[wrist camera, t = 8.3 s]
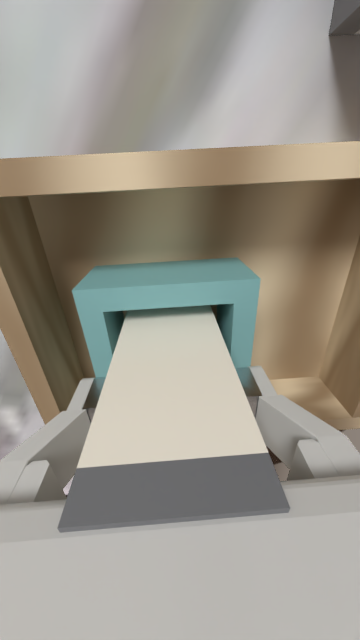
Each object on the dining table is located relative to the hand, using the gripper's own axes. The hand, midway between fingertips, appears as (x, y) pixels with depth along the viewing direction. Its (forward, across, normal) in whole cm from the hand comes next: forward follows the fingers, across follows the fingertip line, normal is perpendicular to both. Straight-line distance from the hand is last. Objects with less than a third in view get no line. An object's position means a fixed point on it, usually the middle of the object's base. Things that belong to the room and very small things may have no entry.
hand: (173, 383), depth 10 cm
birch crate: (+6, -2, -1) cm, 6 cm away
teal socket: (+6, 0, 0) cm, 6 cm away
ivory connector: (+4, 0, 0) cm, 4 cm away
